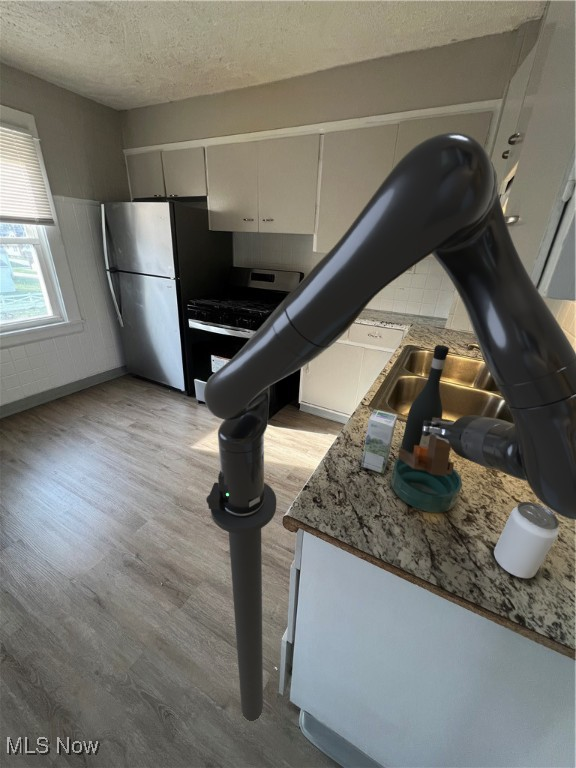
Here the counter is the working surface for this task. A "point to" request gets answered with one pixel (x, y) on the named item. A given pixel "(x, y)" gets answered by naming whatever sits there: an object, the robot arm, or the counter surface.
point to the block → (421, 452)
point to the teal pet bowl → (425, 487)
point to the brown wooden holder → (431, 456)
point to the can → (526, 539)
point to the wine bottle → (425, 404)
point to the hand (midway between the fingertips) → (435, 426)
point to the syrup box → (378, 440)
